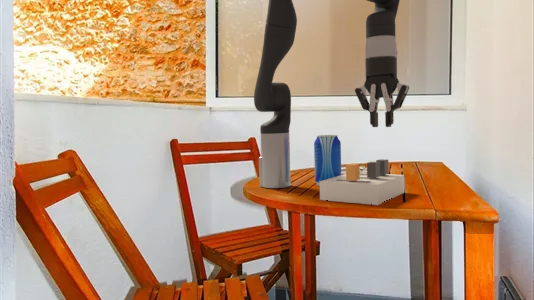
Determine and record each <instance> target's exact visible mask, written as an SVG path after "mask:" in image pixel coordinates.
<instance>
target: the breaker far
mask: <svg viewBox="0 0 534 300" xmlns="http://www.w3.org/2000/svg"><path fill="white" fill-rule="evenodd" d="M375 162H380V175H386V174H389V159H376V160H375Z"/></svg>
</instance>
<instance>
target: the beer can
mask: <svg viewBox="0 0 534 300" xmlns="http://www.w3.org/2000/svg"><path fill="white" fill-rule="evenodd" d="M338 136H339V135H337V134H319V135H317V136H316V139H315V140H314V141H313V149H314V153H313V156H314V157H313V158H314V159H313V160H314V182H315V183H316V184H317V186H318V187H320V181H323V180H326V179H330V178H333V177H337V176H341V175H342V152H341V151H342V149H341V148H342V147H341V146H342V145H341V144H342V143H341V140H340V139H339V138H338Z"/></svg>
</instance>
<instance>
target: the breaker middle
mask: <svg viewBox="0 0 534 300" xmlns="http://www.w3.org/2000/svg"><path fill="white" fill-rule="evenodd" d="M366 173H367V178H377V177H380V162H376V161H369V162H366Z"/></svg>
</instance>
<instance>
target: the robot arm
mask: <svg viewBox="0 0 534 300" xmlns="http://www.w3.org/2000/svg"><path fill="white" fill-rule="evenodd" d="M366 1H367V2H371V3H374V9H373V12H372V13H370V14H368V16H367V17H366V21H365V49H364V53H365V54H364V55H365V57H364V58H365V60H364V61H365V82H364V84H363V85H362V86H360V87H355V89H354V92H355V94H356V97H357V99H358V102H359V104H360V106H361V108H362V109H363V111H368V112H369V123H370V126H372V128H378V126H379V111H378V107H379V103H380V99H381V98H383V102H384V106H385V110H386V111H385V112H384V115H385V120H384V121H385V127H386V128H391V127H392V125H394V122H395V121H394V112H395V111H396V110H399V109H401V108H402V107H403V104H404V101H405V99H406V97H407V94H408V93H409V90H410V86H409V85H408V84H404V83H401V82H400V80H399V79H398V57H397V56H398V49H397V40H396V39H397V38H396V18H397V14H398V10H399V5H400V0H366ZM297 17H298V16H297V13H296V10H295V6H294V2H293V0H268V6H267V14H266V21H265V27H264V32H263V33H264V35H263V43H262V52H261V59H260V63H259V69H258V74H257V78H256V82H255V86H254V87H255V88H254V94H253V103H254V104H253V105H254V107H255V109H256V110H257V111H258V112H262V113H265V112H267V113H273V115H272V116H273V117H271V119H269V120H268V121H265V122H264V123H262V124H261V125H260V127H259V131H260V155H261V156H259V157H258V172H259V173H258V176H259V177H258V178H259V187H262V188H265V189H266V188H267V189H280V188H281V189H282V188H283V189H285V188H289V187H291V185H292V184H291V181H292V180H291V148H290V146H291V145H290V143H291V142H290V126H291V119H292V118H291V114H292V113H291V112H292V111H291V110H292V109H291V107H292V95H291V90H290V87H289V85H288V84H287V83H285V82H273V80H274V77H275V74H276V71H277V68H278V66H279V65H280V64H281V62H282V61H283V60H284V59H285V57H286V56H287V55H288V54H289V51H290V50H291V49H292V46H293V45H294V42H295V39H296V38H295V37H296V32H297V31H296V30H297V25H298V18H297ZM396 89H397V92H398V93H397V95H396V98H395V99H394V95H393V94H394V92H395V91H396ZM367 92H368V94H369V95H370V97H369V100H368V97H367V96H366V94H367ZM394 100H395V101H394Z"/></svg>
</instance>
